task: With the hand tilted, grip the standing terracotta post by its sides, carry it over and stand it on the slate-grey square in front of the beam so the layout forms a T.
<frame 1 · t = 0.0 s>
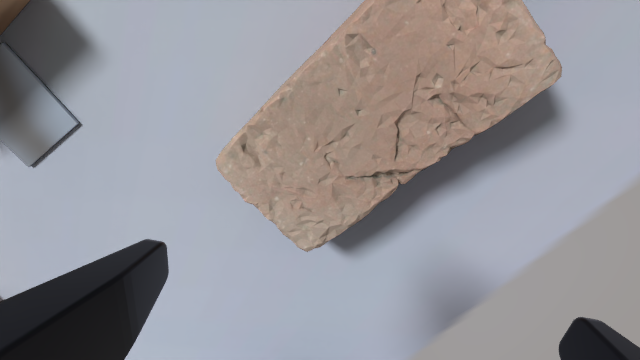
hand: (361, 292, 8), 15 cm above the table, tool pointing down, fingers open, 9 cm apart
structure: (19, 109, 23), on the table
brick: (364, 106, 21), on the table
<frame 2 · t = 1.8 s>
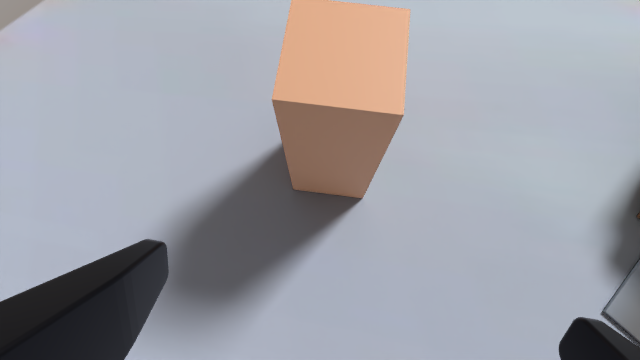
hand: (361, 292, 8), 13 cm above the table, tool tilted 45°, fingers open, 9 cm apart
post: (332, 161, 23), on the table
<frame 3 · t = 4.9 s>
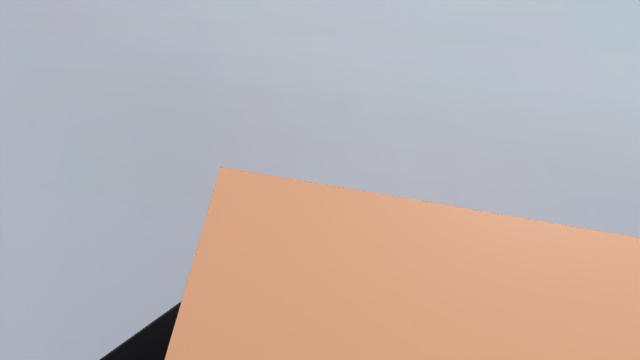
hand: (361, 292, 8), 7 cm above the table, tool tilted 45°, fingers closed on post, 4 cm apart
post: (335, 333, 13), on the table, touching gripper
when the fingers open (8 cm above the table, at t = 9.3 s): post drops 1 cm, resting on structure.
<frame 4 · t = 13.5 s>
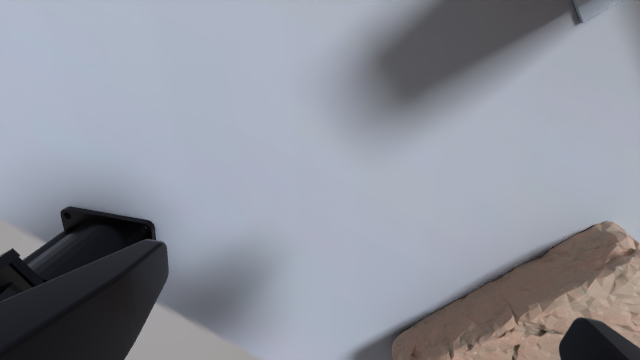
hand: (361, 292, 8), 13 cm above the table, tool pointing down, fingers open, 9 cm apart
brick: (513, 313, 24), on the table
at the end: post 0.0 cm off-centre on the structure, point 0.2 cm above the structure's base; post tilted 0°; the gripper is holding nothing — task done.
